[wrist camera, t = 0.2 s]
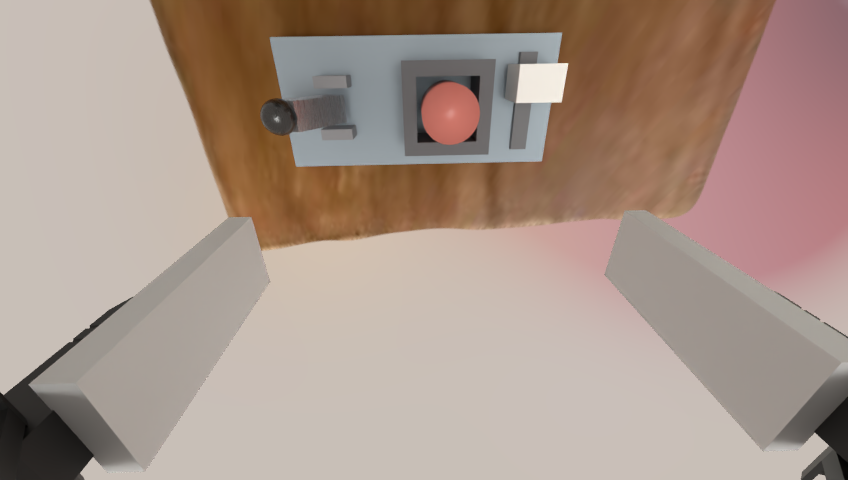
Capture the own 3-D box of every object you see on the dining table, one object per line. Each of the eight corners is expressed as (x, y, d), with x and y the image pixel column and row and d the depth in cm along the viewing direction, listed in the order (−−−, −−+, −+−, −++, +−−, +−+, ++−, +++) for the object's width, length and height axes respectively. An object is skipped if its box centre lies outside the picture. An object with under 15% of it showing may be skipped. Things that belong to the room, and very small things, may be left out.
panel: (281, 39, 32) (244, 32, 25) (550, 35, 33) (587, 27, 26) (304, 159, 38) (279, 180, 31) (532, 154, 38) (559, 174, 31)
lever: (322, 92, 31) (248, 99, 25) (345, 92, 30) (273, 100, 24) (327, 122, 32) (257, 136, 26) (348, 124, 31) (281, 139, 25)
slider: (508, 64, 30) (520, 64, 27) (550, 63, 30) (568, 63, 27) (504, 98, 32) (516, 103, 28) (545, 98, 32) (561, 102, 28)
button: (420, 80, 29) (421, 83, 25) (470, 79, 29) (481, 82, 25) (421, 133, 32) (422, 145, 27) (468, 132, 32) (478, 144, 27)
